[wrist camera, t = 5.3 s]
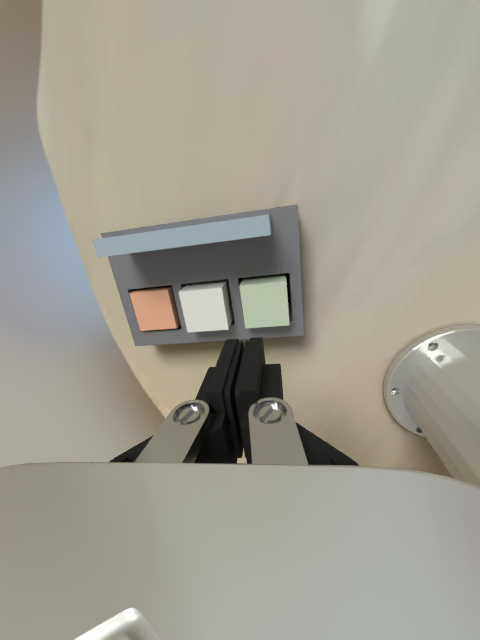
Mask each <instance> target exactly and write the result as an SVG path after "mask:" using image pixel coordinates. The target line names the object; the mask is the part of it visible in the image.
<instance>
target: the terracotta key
mask: <svg viewBox="0 0 480 640" xmlns="http://www.w3.org/2000/svg"><path fill="white" fill-rule="evenodd" d="M130 298H131V301H132V305H133V308H134V311H135V315H136V318H137V322H138V325H139V329H140V331H147V330H161V329H175V328H177V327H178V326H179V325H180V324H181V323H180V319H179V314H178V310H177V306H176V301H175V297H174V293H173V288H172V285H167V286H157V287H147V288H139V289H137V290H135V291H133V292H131V293H130Z"/></svg>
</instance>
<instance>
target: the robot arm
mask: <svg viewBox="0 0 480 640" xmlns="http://www.w3.org/2000/svg"><path fill="white" fill-rule="evenodd" d="M383 394H384V400H385V402H386V405H387V407H388V409H389V411H390V412H391V414H392V416H393V417H394V418H395V420H396V421H397V422H398V423H399V424H400V425H401V426H403V427H404V428H405V429H407V430H408V431H410V432H412V433H414V434H416V435H419V436H423V437H426V438H427V440H428V441H429V443H430V444H431V446H432V447H433V449H434V450H435V452H436V453H437V455H438V456H439V458H440V459H441V461H442V462H443V464H444V465H445V467H446V468H447V470H448V471H449V473H450V474H451V476H452V477H453V478H451V477H447V476H443V475H438V474H433V473H428V472H424V471H418V470H410V469H401V468H390V467H370V466H359V465H358V464H357V463H356V462H355V461H353V460H352V459H351V458H349V457H348V456H346V455H345V454H343V453H342V452H340V451H339V450H337V449H336V448H334V447H332V446H331V445H329V444H328V443H326V442H325V441H323V440H322V439H320V438H319V437H317V436H316V435H314V434H313V433H311V432H310V431H308V430H307V429H305V428H304V427H302V426H301V425H299V424H298V423H296V422H295V419H294V416H293V413H292V409H291V407H290V405H289V404H288V403H287V402H285V401H284V400H283V388H282V376H281V366H280V364H265V355H264V347H263V339H262V337H255V338H250V341H246V343H245V347H244V345H243V341H241V342H239V340H238V339H226V341H225V343H224V346H223V349H222V351H221V354H220V356H219V359H218V362H217V364H216V367H210V368H209V369H208V371H207V373H206V376H205V378H204V380H203V383H202V385H201V387H200V390H199V392H198V394H197V397H196V399H195V400H189V401H185V402H183V403H181V404H179V405H178V406H176V407H175V408H174V409H173V410H172V411H171V412H170V414H169V415H168V416H167V418H166V419H165V420H164V422H163V423H162V425H161V426H160V427H159V429H158V430H157V432H156V433H155V435H153V436H151V437H150V438H148V439H146V440H145V441H143V442H142V443H139V444H138V445H136V446H134V447H133V448H131V449H129V450H128V451H126V452H124V453H122V454H121V455H119V456H117V457H115V458H114V459H113V460H111V461H110V462H52V463H51V462H50V463H29V464H19V465H11V466H6V467H1V468H0V640H480V325H458V326H452V327H447V328H443V329H439V330H437V331H434V332H431V333H429V334H426V335H424V336H423V337H421V338H419V339H417V340H415V341H414V342H412V343H411V344H410V345H408V346H407V347H406V348H405V349H403V350H402V351H401V352H400V353H399V355H398V356H397V357H396V358H395V359H394V360H393V362H392V363H391V365H390V367H389V368H388V370H387V373H386V376H385V378H384V385H383ZM243 447H244V452H245V457H246V459H247V464H237V458H242V455H243Z"/></svg>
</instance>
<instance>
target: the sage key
mask: <svg viewBox="0 0 480 640" xmlns="http://www.w3.org/2000/svg"><path fill="white" fill-rule="evenodd" d="M239 287H240V295H241V302H242V309H243V316H244V324H245V328H259V327H273V326H288V325H290V324H289V310H288V296H287V282H286V274H285V273H282V274H273V275H263V276H254V277H244V278H243V280H242V282H241V284H240V286H239Z"/></svg>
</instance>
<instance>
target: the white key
mask: <svg viewBox="0 0 480 640" xmlns="http://www.w3.org/2000/svg"><path fill="white" fill-rule="evenodd" d="M179 297H180V301H181V306H182V310H183V315H184V319H185V323H186V328H187V332H201V331H216V330H229V327H230V325H231V323H232V320H233V318H234V314H233V307H232V301H231V294H230V287H229V281H228V279H225V280H215V281H205V282H196V283H189V284H188V285H187V286H185V287H184V288H183V289H181V290H180V291H179Z"/></svg>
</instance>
